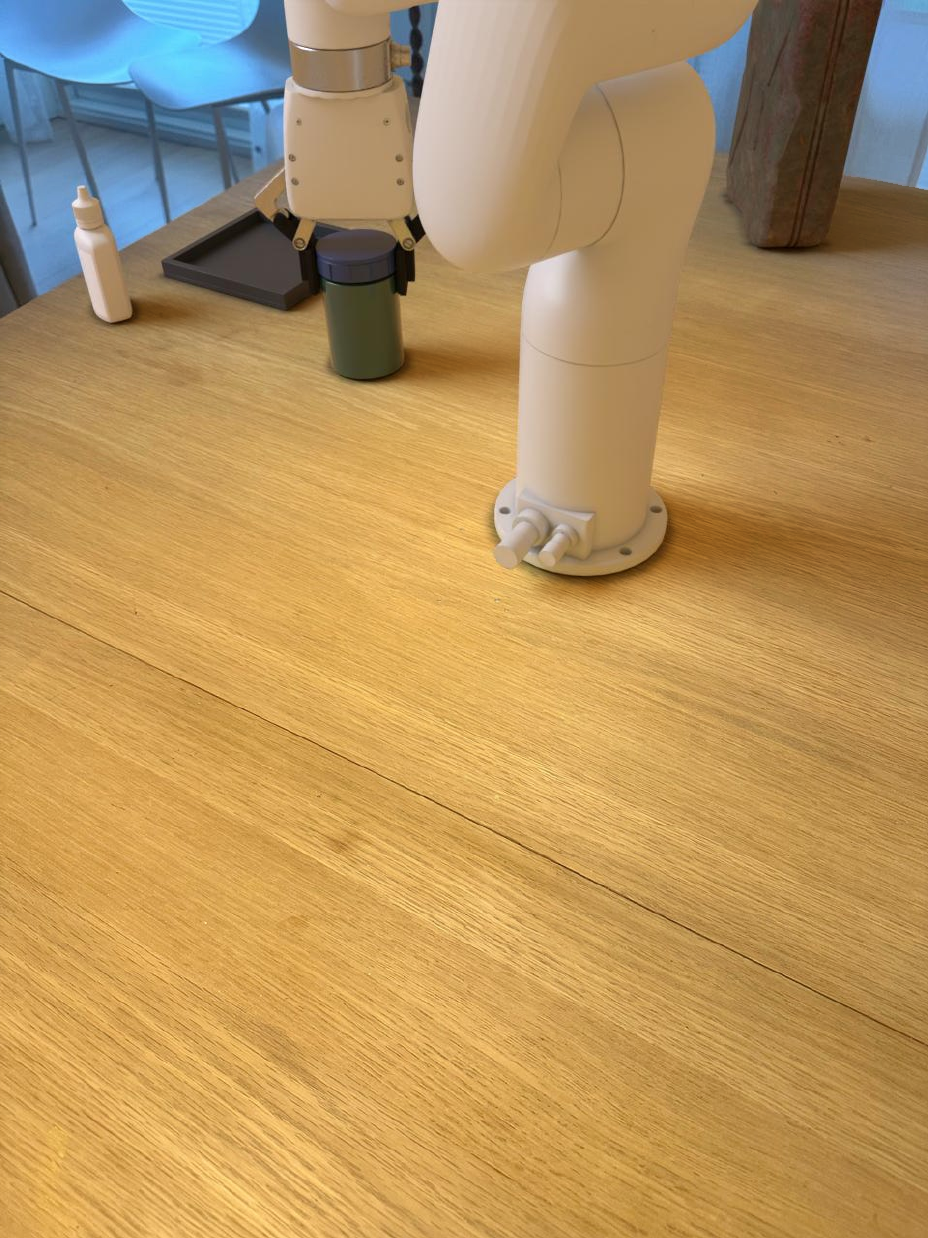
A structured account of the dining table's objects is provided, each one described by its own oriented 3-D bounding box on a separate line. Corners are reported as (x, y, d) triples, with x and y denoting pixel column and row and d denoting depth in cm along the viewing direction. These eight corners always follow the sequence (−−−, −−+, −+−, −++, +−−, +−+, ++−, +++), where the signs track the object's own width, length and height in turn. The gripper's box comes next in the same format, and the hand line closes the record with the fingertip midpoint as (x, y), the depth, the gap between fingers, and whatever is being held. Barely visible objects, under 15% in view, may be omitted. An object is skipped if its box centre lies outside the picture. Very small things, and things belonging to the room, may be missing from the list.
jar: (378, 385, 91) (367, 272, 85) (316, 369, 94) (301, 258, 87) (418, 353, 96) (410, 243, 89) (358, 339, 98) (346, 231, 92)
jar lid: (411, 255, 90) (409, 233, 89) (378, 287, 86) (376, 264, 84) (339, 246, 92) (337, 224, 91) (303, 277, 88) (300, 254, 86)
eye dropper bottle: (83, 325, 101) (48, 199, 92) (97, 297, 105) (64, 175, 96) (129, 324, 101) (98, 198, 92) (141, 297, 105) (112, 174, 96)
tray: (286, 310, 102) (283, 294, 101) (164, 276, 108) (160, 260, 107) (374, 250, 112) (373, 234, 111) (258, 221, 118) (256, 206, 117)
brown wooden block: (831, 254, 110) (896, -19, 93) (751, 255, 110) (801, -18, 93) (788, 184, 124) (838, -65, 107) (717, 186, 124) (755, -63, 107)
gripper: (459, 48, 81) (461, 269, 93) (234, 48, 81) (266, 268, 93) (457, 78, 75) (459, 309, 88) (216, 79, 76) (252, 308, 88)
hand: (359, 286), depth 90 cm, fingers closed on jar lid, 6 cm apart
